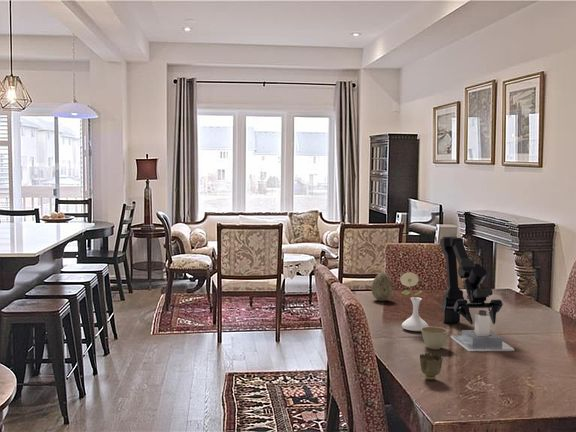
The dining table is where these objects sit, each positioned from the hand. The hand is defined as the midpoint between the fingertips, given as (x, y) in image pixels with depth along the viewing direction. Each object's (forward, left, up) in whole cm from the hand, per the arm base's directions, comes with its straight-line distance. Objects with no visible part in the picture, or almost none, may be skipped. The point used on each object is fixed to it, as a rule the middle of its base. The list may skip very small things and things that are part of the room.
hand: (483, 324), depth 251 cm
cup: (-13, -50, -9) cm, 53 cm away
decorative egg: (-54, +64, -9) cm, 84 cm away
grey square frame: (-1, +1, -8) cm, 8 cm away
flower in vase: (-29, +12, -9) cm, 33 cm away
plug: (0, +1, -7) cm, 8 cm away
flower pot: (-17, -12, -9) cm, 23 cm away
